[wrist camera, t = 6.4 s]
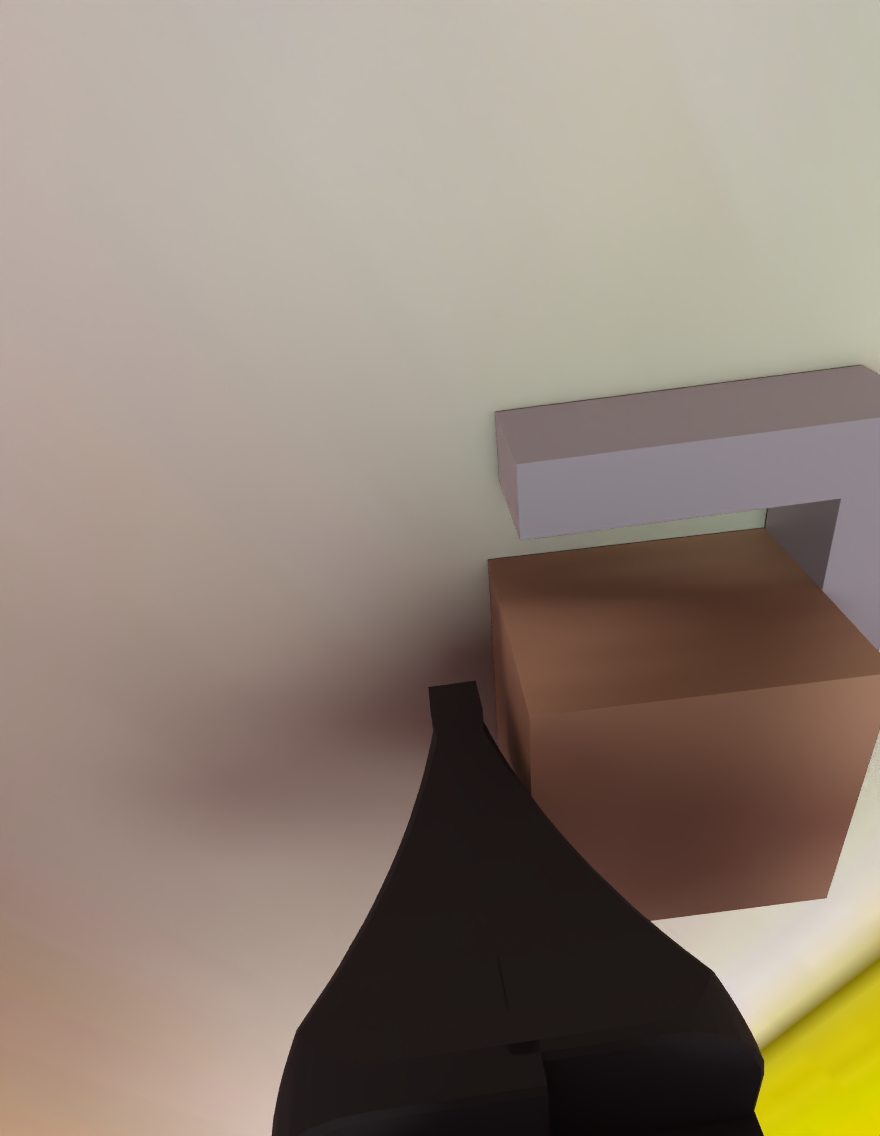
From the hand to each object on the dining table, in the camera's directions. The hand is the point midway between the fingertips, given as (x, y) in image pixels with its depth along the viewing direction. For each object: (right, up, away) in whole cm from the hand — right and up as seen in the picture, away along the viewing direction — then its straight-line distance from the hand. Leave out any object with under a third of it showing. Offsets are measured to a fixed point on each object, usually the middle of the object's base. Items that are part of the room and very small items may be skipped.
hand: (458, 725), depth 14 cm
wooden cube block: (+3, +1, +1) cm, 4 cm away
